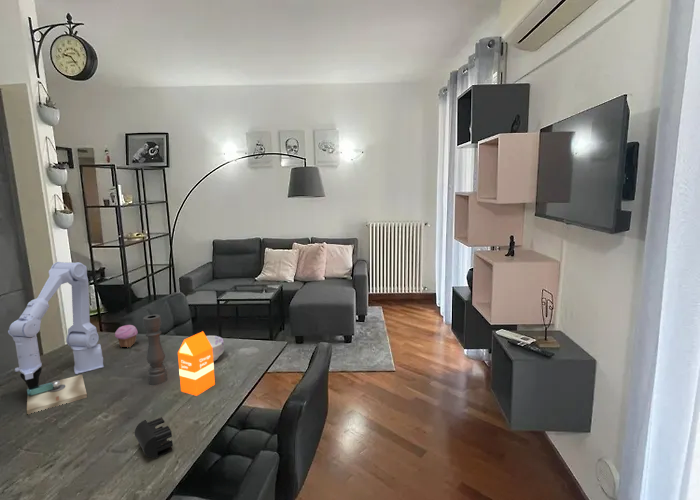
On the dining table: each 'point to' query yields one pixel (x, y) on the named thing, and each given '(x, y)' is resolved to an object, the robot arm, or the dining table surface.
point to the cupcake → (126, 335)
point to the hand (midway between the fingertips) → (34, 390)
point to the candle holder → (155, 350)
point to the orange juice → (196, 364)
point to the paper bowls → (216, 346)
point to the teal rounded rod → (43, 388)
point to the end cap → (154, 438)
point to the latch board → (58, 395)
